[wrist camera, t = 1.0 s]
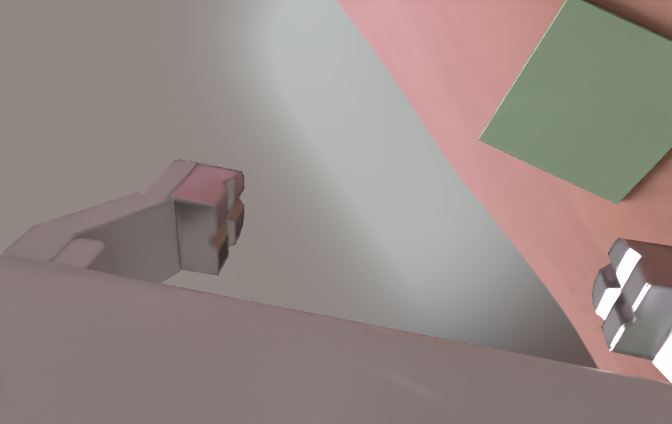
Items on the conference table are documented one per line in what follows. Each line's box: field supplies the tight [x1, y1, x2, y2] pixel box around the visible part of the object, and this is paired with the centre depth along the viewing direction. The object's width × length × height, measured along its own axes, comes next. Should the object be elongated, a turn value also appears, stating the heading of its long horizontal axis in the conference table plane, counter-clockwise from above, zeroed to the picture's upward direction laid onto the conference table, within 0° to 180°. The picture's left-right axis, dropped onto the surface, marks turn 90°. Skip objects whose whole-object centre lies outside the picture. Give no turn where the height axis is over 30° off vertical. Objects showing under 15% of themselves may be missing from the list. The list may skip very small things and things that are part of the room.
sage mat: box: [479, 0, 672, 204], centre depth 47 cm, size 15×15×1 cm
